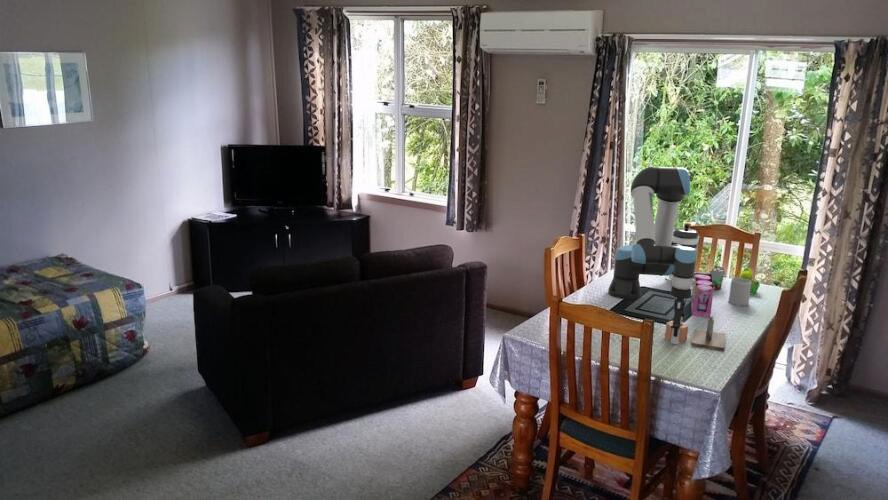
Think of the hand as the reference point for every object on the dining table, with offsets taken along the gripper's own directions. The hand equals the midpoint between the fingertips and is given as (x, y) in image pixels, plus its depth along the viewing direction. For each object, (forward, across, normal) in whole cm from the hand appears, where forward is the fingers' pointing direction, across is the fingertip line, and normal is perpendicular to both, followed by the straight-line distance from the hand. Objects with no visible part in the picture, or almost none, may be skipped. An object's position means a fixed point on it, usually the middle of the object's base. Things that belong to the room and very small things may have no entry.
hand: (675, 337), depth 268 cm
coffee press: (0, +79, +5) cm, 79 cm away
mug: (0, +60, -23) cm, 64 cm away
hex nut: (0, 0, 0) cm, 0 cm away
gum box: (+1, +42, -7) cm, 43 cm away
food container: (0, +77, -13) cm, 78 cm away
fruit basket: (0, +79, -26) cm, 83 cm away
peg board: (0, +3, -12) cm, 12 cm away
